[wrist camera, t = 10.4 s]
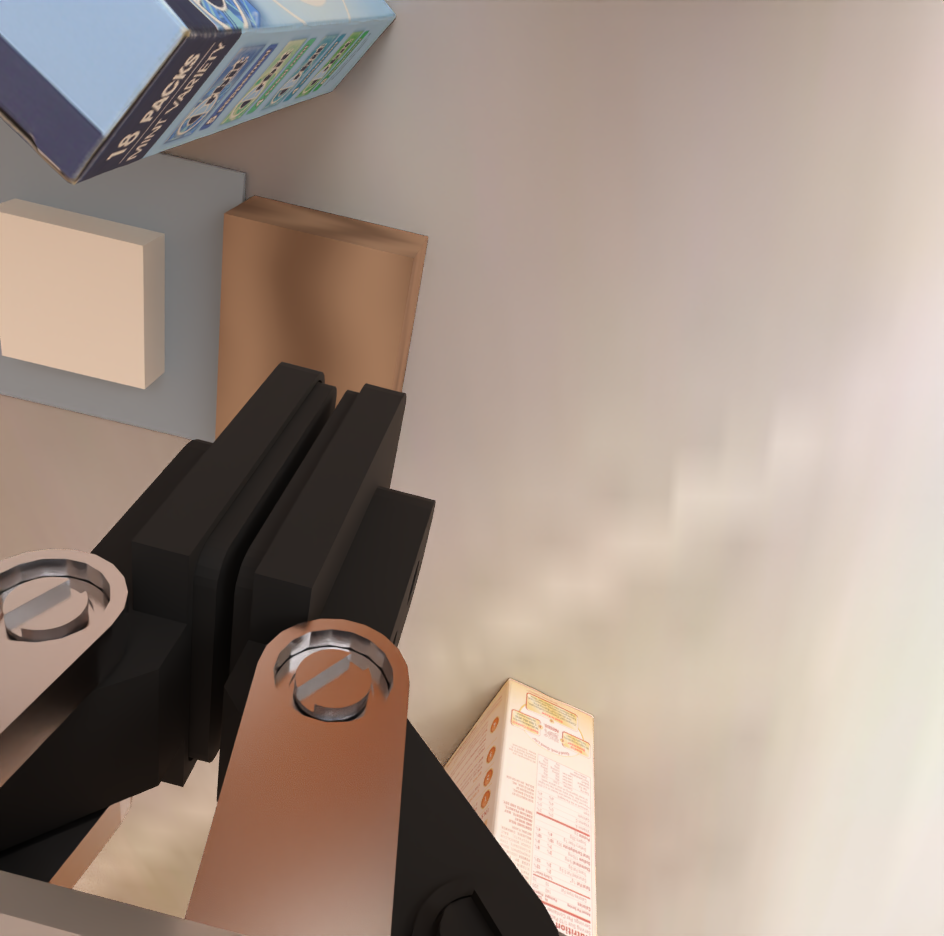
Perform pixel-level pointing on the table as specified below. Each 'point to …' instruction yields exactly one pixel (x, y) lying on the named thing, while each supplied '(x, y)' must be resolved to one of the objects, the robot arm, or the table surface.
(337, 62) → the gum box
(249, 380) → the board
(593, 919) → the coffeecake box
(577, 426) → the table surface
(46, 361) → the cream coaster
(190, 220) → the slate mat
